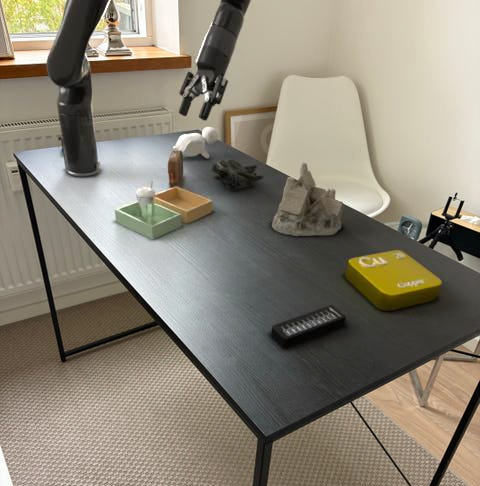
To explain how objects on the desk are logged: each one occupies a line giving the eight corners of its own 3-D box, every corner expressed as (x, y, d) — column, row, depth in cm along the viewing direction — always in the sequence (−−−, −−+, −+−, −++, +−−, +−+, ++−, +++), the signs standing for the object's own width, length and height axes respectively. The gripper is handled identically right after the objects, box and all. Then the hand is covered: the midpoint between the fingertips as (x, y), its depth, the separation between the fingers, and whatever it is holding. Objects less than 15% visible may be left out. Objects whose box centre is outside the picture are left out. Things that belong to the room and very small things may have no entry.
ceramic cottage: (262, 224, 125) (273, 168, 116) (298, 208, 136) (310, 155, 127) (313, 249, 118) (328, 191, 109) (346, 230, 129) (362, 176, 120)
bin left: (115, 221, 122) (114, 209, 120) (144, 210, 128) (144, 198, 126) (152, 239, 116) (151, 226, 114) (181, 226, 122) (181, 214, 120)
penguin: (186, 170, 161) (226, 149, 163) (177, 146, 155) (218, 125, 157) (177, 161, 167) (215, 141, 169) (168, 138, 161) (207, 118, 163)
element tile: (382, 313, 97) (387, 293, 95) (341, 275, 108) (345, 256, 105) (440, 299, 103) (447, 280, 100) (395, 264, 113) (401, 246, 111)
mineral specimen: (244, 182, 134) (236, 146, 133) (207, 196, 140) (199, 161, 139) (269, 185, 146) (261, 152, 145) (233, 197, 153) (226, 165, 152)
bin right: (150, 207, 130) (150, 196, 128) (176, 197, 136) (176, 186, 134) (186, 223, 124) (186, 211, 122) (212, 212, 130) (212, 200, 128)
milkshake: (162, 221, 123) (160, 182, 117) (150, 229, 119) (147, 190, 113) (146, 216, 125) (144, 178, 119) (134, 224, 121) (131, 186, 115)
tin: (178, 193, 138) (177, 164, 133) (167, 192, 138) (166, 163, 133) (184, 173, 150) (184, 146, 145) (174, 173, 150) (173, 145, 145)
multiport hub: (269, 335, 90) (271, 325, 88) (330, 313, 96) (332, 304, 95) (284, 349, 87) (285, 339, 86) (344, 325, 94) (347, 316, 92)
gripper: (188, 42, 121) (164, 106, 123) (224, 44, 111) (198, 113, 114) (209, 59, 126) (186, 120, 129) (245, 61, 117) (220, 127, 120)
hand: (192, 116), depth 122 cm, fingers open, 8 cm apart
